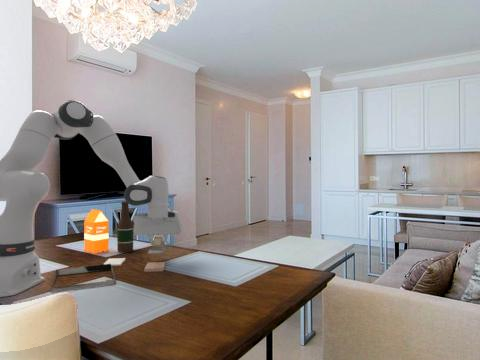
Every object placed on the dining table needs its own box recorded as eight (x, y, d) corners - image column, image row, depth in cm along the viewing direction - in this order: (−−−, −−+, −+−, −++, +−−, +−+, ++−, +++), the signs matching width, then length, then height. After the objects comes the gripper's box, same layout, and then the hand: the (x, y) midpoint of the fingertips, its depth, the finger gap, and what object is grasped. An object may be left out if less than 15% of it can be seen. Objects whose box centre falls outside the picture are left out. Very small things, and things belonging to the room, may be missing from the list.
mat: (120, 265, 139) (120, 264, 139) (102, 266, 138) (102, 264, 138) (125, 259, 149) (125, 258, 149) (109, 259, 148) (108, 258, 148)
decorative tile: (115, 288, 115) (114, 270, 134) (115, 279, 115) (114, 262, 134) (48, 296, 108) (56, 276, 127) (47, 287, 108) (56, 268, 127)
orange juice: (93, 253, 160) (93, 211, 159) (84, 251, 165) (83, 209, 165) (109, 250, 166) (108, 209, 166) (99, 248, 171) (98, 208, 171)
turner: (163, 253, 139) (163, 241, 139) (148, 253, 138) (148, 241, 138) (165, 246, 151) (165, 235, 151) (151, 247, 150) (151, 236, 150)
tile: (165, 265, 140) (163, 272, 131) (147, 266, 139) (144, 273, 130) (165, 262, 140) (163, 268, 131) (147, 262, 139) (144, 268, 130)
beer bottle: (136, 249, 169) (136, 200, 168) (129, 252, 161) (129, 202, 161) (121, 248, 170) (120, 200, 169) (114, 252, 162) (113, 202, 161)
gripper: (131, 214, 143) (132, 247, 143) (181, 213, 145) (181, 245, 145) (134, 212, 149) (134, 244, 149) (182, 211, 151) (182, 242, 152)
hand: (158, 244), depth 147 cm, fingers closed on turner, 3 cm apart
